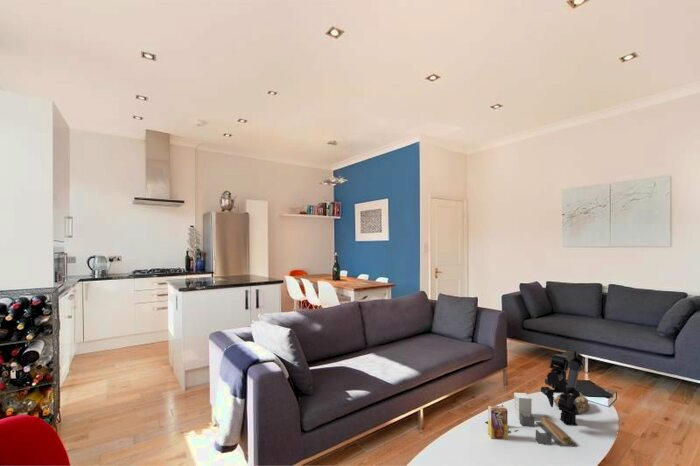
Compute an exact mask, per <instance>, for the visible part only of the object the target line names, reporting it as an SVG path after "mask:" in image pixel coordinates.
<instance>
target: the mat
mask: <svg viewBox="0 0 700 466" xmlns="http://www.w3.org/2000/svg"><path fill="white" fill-rule="evenodd" d="M535 423H536V424H537V426H539V428H541V429H542V430H543V431H544V433H547V430H548V429H547V428H546V427H545V426H544V425H543V424H542V421H535ZM550 432H551V431H550ZM551 433H552V432H551ZM552 441H554V442H555V443H556V444H557V445H558V446H559V447H567V448H568V447H571V448H572V447H575V448H577V447H578V445H577V444H576V443H575V442H573V440H571V445H565V444H563V443H562V442H561V441H560V440H559V439H558V438H557V437H556V436H555V435H554V434H553V433H552Z"/></svg>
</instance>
